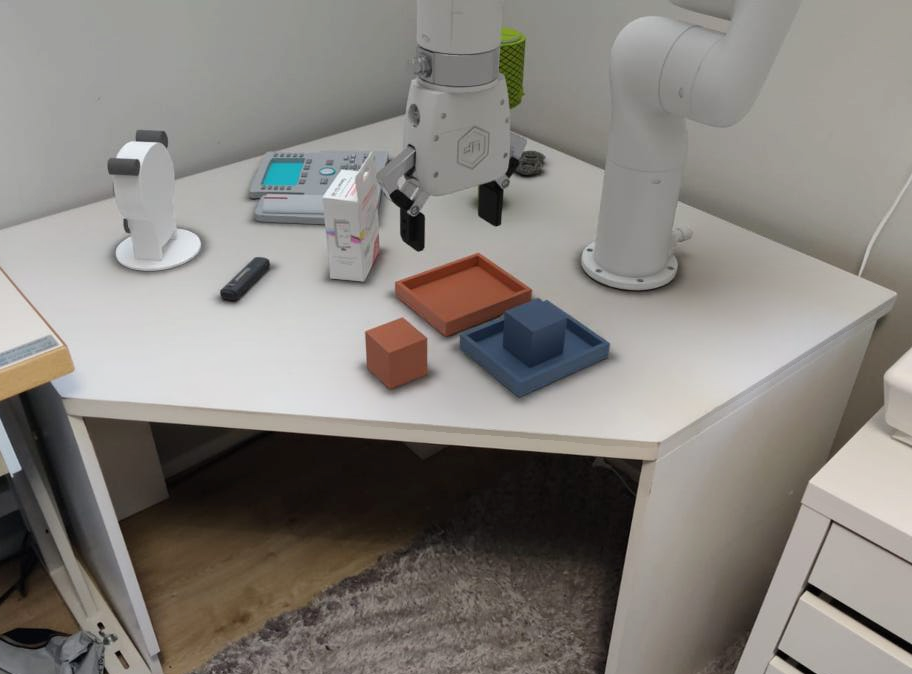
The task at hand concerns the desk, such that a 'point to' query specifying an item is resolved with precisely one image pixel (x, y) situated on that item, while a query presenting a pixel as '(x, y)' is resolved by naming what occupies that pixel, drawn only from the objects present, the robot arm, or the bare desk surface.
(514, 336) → the slate block
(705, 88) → the robot arm
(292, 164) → the office telephone
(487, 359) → the slate tray
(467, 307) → the terracotta tray
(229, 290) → the usb stick
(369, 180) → the ink cartridge box
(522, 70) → the microphone
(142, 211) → the panda figurine
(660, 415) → the desk surface
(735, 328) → the desk surface
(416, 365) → the terracotta block
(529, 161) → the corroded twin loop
